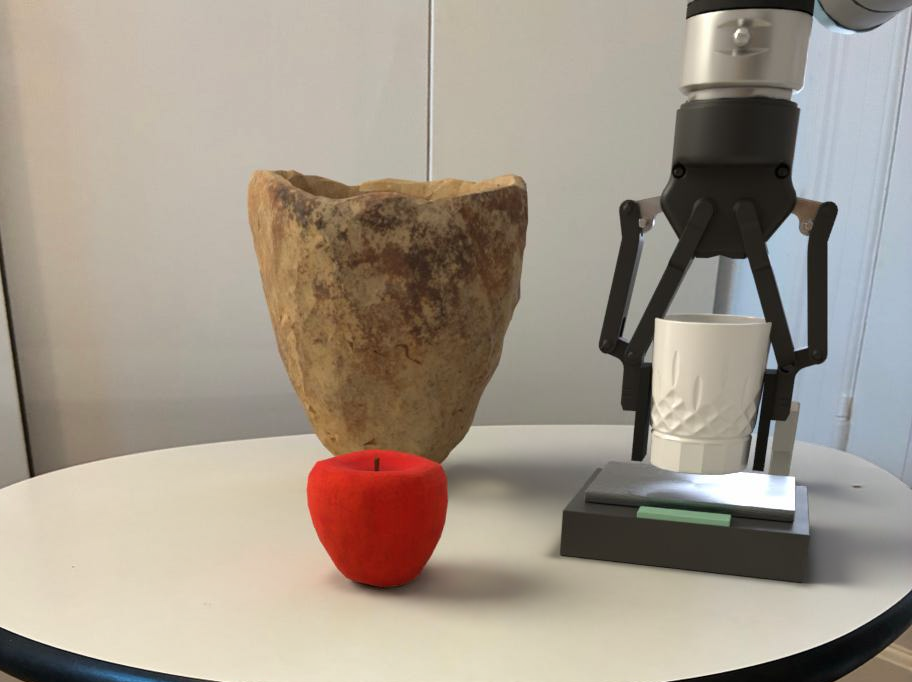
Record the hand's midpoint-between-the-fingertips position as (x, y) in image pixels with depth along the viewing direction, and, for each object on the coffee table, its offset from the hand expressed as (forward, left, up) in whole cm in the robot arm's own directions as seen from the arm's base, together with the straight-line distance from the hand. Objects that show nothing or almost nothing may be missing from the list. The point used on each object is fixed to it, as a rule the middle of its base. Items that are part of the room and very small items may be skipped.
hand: (697, 461), depth 73 cm
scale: (0, 0, -6) cm, 6 cm away
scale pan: (0, -1, -3) cm, 3 cm away
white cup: (0, 0, 0) cm, 0 cm away
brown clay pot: (+27, -10, -6) cm, 30 cm away
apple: (+18, +16, -6) cm, 25 cm away
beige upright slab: (-6, -19, -6) cm, 21 cm away
